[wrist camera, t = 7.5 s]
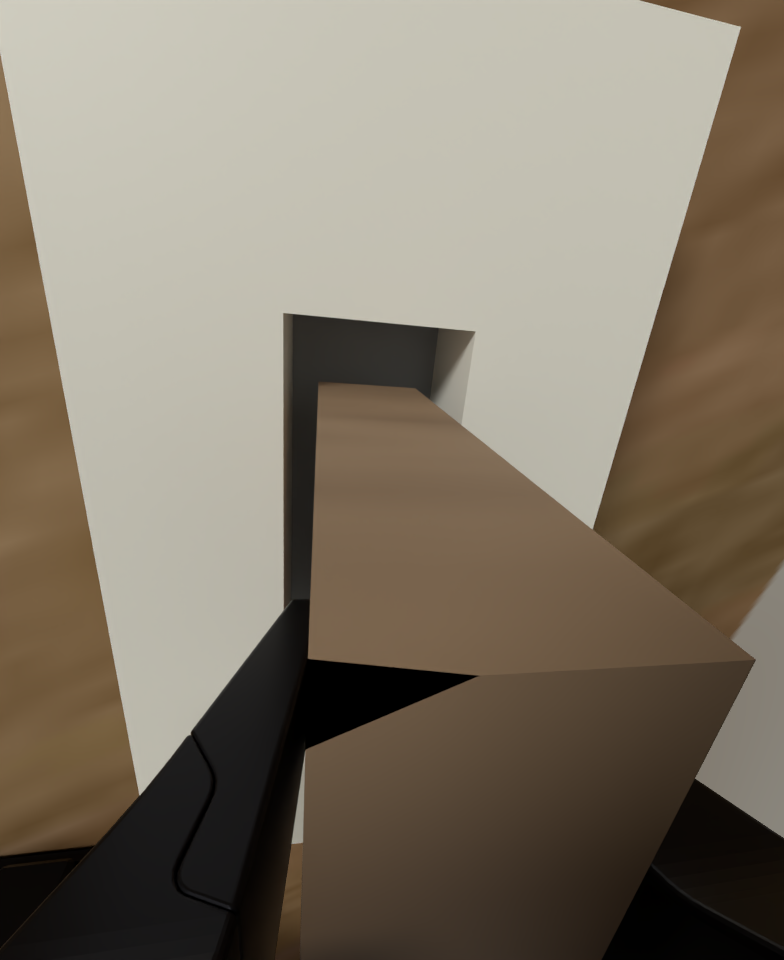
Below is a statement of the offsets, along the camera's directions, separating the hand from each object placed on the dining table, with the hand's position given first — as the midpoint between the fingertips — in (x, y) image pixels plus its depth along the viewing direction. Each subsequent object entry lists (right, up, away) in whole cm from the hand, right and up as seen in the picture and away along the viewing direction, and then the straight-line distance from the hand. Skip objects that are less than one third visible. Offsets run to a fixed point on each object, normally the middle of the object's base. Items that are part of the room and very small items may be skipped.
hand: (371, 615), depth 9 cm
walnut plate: (-1, +1, +3) cm, 4 cm away
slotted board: (-1, +2, +5) cm, 6 cm away
